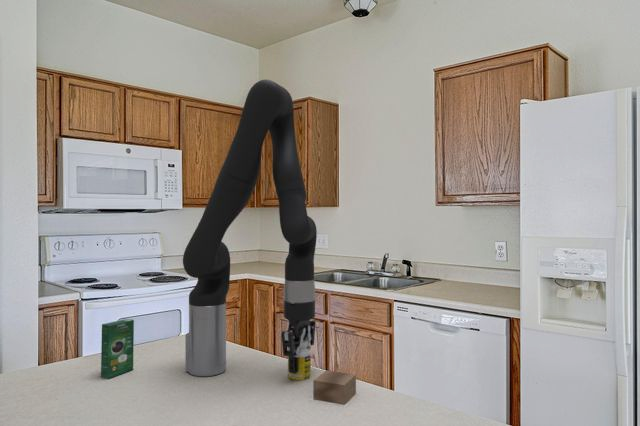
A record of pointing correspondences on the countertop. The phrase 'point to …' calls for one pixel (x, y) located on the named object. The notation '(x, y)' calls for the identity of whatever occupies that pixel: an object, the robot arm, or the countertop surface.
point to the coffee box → (117, 348)
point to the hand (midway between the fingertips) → (299, 368)
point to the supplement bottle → (302, 363)
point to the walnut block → (334, 387)
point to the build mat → (337, 403)
